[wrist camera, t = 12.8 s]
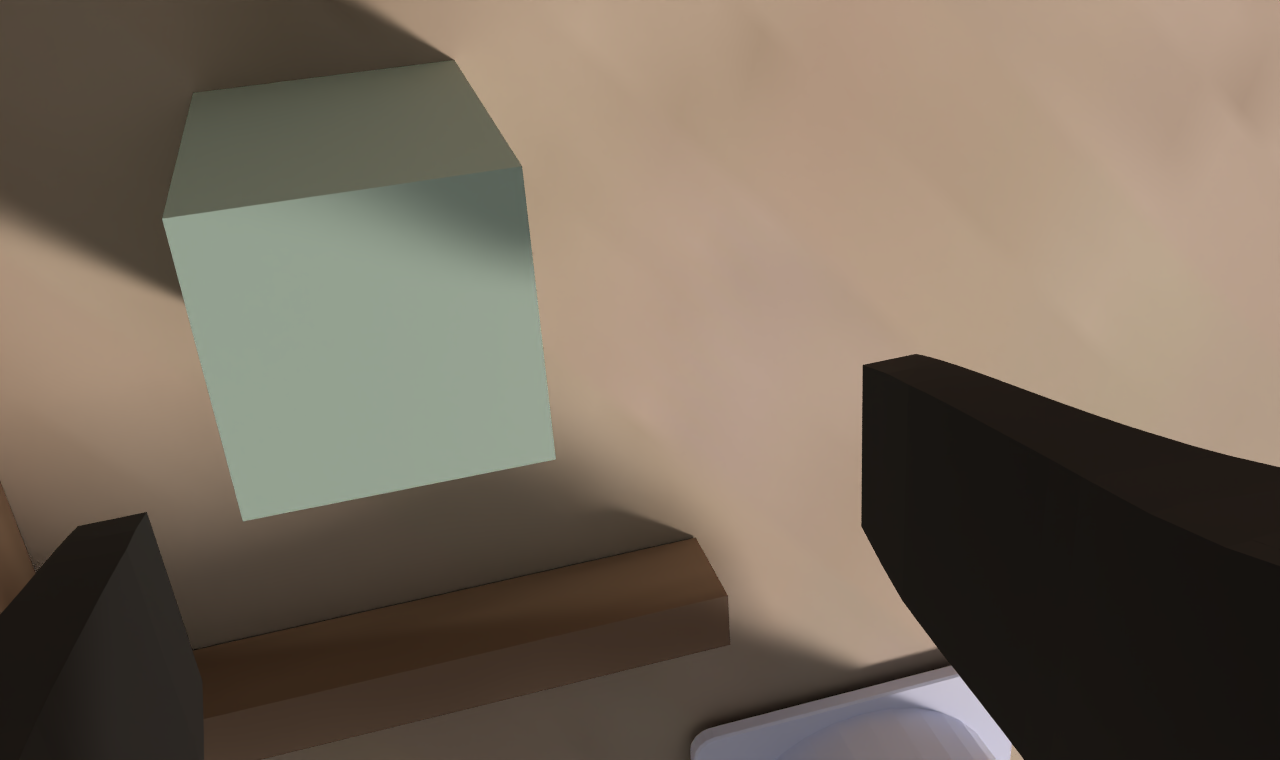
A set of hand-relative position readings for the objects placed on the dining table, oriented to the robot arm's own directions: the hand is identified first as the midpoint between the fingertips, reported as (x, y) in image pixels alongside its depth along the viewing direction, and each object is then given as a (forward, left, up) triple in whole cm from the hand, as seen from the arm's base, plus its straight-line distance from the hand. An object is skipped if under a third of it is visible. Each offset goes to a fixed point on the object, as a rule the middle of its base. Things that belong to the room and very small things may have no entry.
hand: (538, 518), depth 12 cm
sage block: (+1, +1, -9) cm, 9 cm away
